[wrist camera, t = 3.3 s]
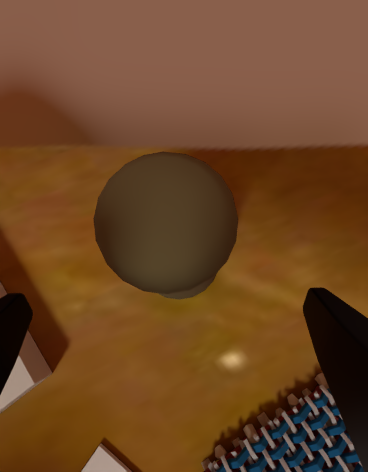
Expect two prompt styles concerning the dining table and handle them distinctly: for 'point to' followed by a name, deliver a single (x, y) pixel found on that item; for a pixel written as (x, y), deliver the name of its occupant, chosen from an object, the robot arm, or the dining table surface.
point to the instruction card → (104, 462)
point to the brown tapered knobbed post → (166, 224)
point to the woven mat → (293, 439)
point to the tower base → (24, 370)
